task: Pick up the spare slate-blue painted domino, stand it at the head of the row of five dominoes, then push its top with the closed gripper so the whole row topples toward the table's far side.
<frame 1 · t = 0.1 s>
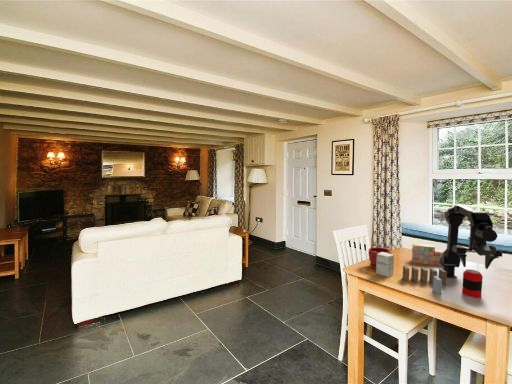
hand: (475, 267, 131), 15 cm above the table, fingers open, 9 cm apart
domino 3: (432, 282, 150), on the table
plant pot: (378, 267, 173), on the table
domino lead: (436, 292, 137), on the table
domino 4: (423, 281, 151), on the table
supplement box: (384, 274, 161), on the table
domino 5: (414, 280, 152), on the table
printed cardboard carton: (430, 263, 182), on the table
domino 6: (405, 279, 153), on the table
soda can: (471, 294, 135), on the table
domino 2: (442, 283, 148), on the table
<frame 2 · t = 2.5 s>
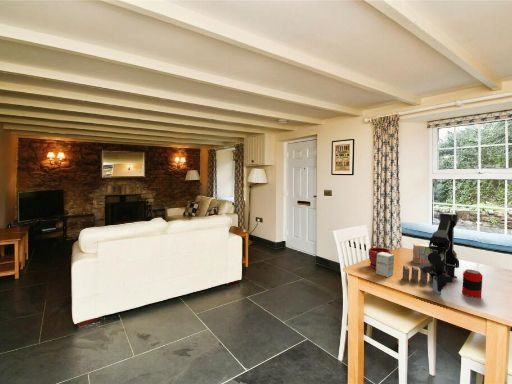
hand: (437, 289, 137), 2 cm above the table, fingers closed on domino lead, 5 cm apart
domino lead: (436, 292, 137), on the table, touching gripper
when the fingers open (3 cm above the table, at t = 6.7 s): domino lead drops 2 cm, on the table.
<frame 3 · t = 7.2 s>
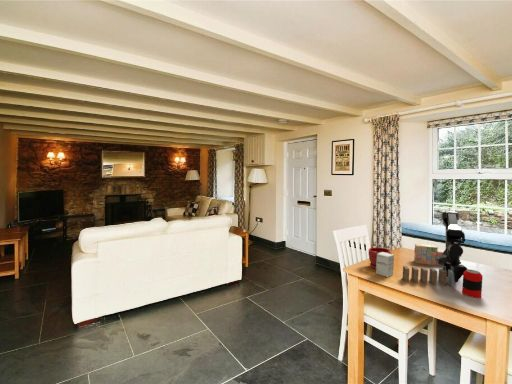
hand: (451, 278, 147), 3 cm above the table, fingers open, 9 cm apart
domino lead: (451, 284, 147), on the table
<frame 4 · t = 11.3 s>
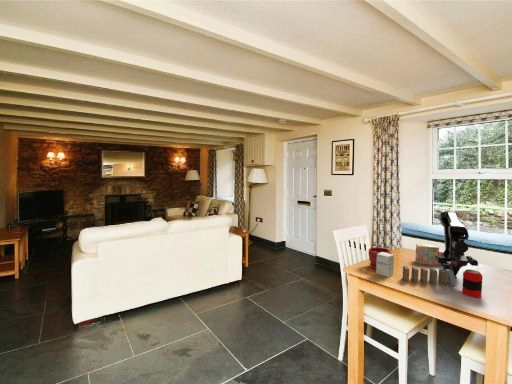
hand: (454, 275, 147), 5 cm above the table, fingers closed
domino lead: (451, 283, 147), on the table, tilted 11°
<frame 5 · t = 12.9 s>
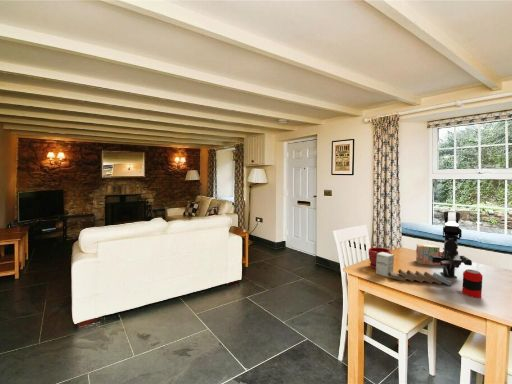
hand: (448, 275, 147), 5 cm above the table, fingers closed
domino 3: (430, 280, 150), point 1 cm above the table, tilted 64°, touching domino 2, domino 4
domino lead: (448, 282, 148), point 1 cm above the table, tilted 64°, touching domino 2
domino 4: (421, 279, 151), point 1 cm above the table, tilted 62°, touching domino 3, domino 5
supplement box: (384, 274, 161), on the table, touching domino 6
domino 5: (412, 278, 152), point 1 cm above the table, tilted 62°, touching domino 4, domino 6
domino 6: (404, 278, 153), point 1 cm above the table, tilted 81°, touching domino 5, supplement box
domino 2: (439, 281, 149), point 1 cm above the table, tilted 64°, touching domino 3, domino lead
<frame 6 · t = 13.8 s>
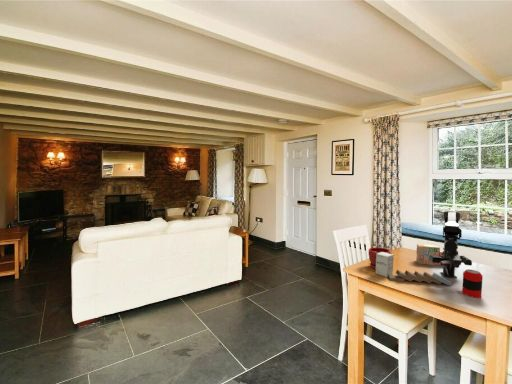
hand: (448, 275, 147), 5 cm above the table, fingers closed
supplement box: (384, 274, 161), on the table
domino 5: (410, 278, 152), point 1 cm above the table, tilted 66°, touching domino 4
domino 6: (403, 278, 153), point 1 cm above the table, tilted 90°
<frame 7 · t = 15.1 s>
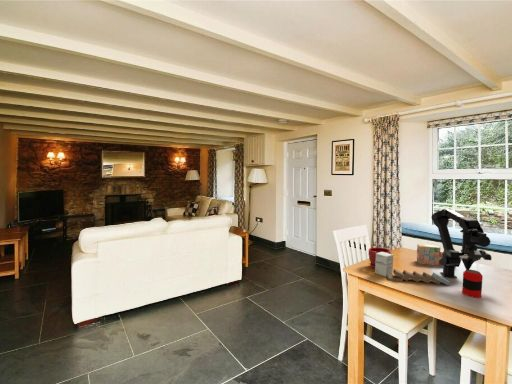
hand: (467, 270, 145), 9 cm above the table, fingers closed
domino 4: (417, 279, 151), point 1 cm above the table, tilted 66°, touching domino 3, domino 5
domino 5: (407, 278, 153), point 1 cm above the table, tilted 67°, touching domino 4
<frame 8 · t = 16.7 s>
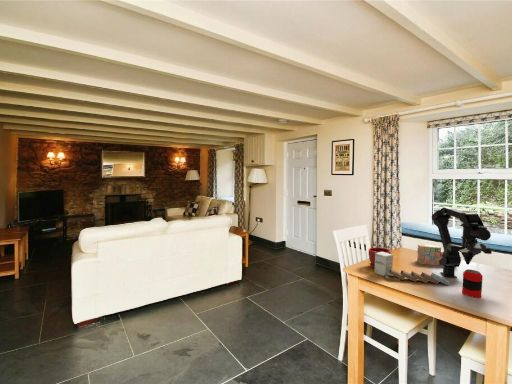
hand: (467, 264, 145), 12 cm above the table, fingers closed
domino 4: (415, 279, 152), point 1 cm above the table, tilted 68°, touching domino 3
domino 5: (403, 277, 153), point 1 cm above the table, tilted 68°, touching domino 6
domino 6: (398, 279, 153), on the table, tilted 89°, touching domino 5
at the end: domino 6 tilted 89°; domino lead tilted 67°; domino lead inside the target area (0.4 cm from its centre), point 0.9 cm above the table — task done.
